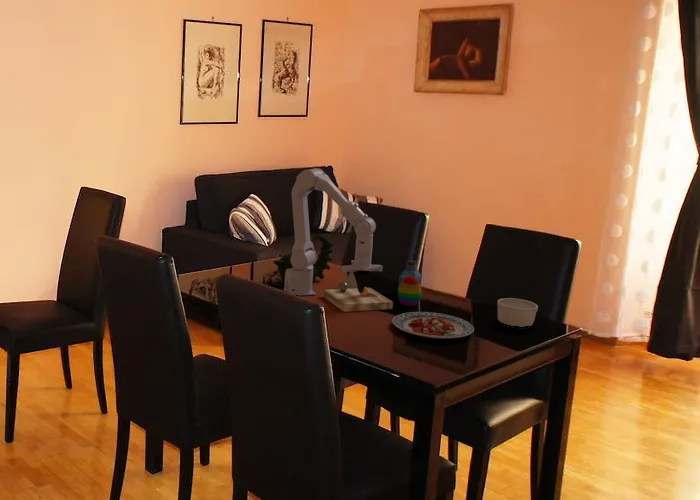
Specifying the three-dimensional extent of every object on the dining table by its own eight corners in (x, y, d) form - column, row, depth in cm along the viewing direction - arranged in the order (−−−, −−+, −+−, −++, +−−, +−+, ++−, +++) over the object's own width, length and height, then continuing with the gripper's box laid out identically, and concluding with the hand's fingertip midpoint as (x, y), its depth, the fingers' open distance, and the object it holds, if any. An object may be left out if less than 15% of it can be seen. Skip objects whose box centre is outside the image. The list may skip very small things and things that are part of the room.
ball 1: (340, 292, 280) (341, 283, 279) (337, 290, 282) (337, 281, 282) (349, 292, 281) (349, 283, 280) (345, 290, 284) (346, 281, 283)
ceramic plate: (379, 319, 262) (380, 310, 261) (449, 316, 271) (450, 308, 270) (412, 346, 238) (413, 336, 237) (488, 342, 247) (489, 332, 247)
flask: (363, 290, 294) (365, 264, 292) (343, 289, 294) (345, 262, 292) (363, 285, 301) (365, 259, 299) (344, 284, 301) (345, 258, 299)
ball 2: (371, 291, 277) (365, 298, 277) (367, 289, 280) (361, 296, 280) (365, 285, 276) (359, 292, 276) (361, 284, 279) (355, 291, 278)
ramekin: (536, 321, 273) (539, 301, 272) (534, 332, 261) (537, 311, 259) (497, 315, 276) (499, 295, 275) (493, 325, 264) (495, 305, 262)
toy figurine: (318, 280, 311) (263, 280, 295) (325, 232, 308) (270, 230, 292) (332, 286, 303) (277, 287, 288) (339, 237, 300) (284, 235, 285)
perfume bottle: (397, 293, 295) (400, 261, 292) (404, 289, 300) (407, 258, 298) (413, 296, 292) (416, 264, 290) (420, 292, 298) (423, 261, 295)
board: (343, 311, 266) (344, 304, 266) (323, 296, 282) (323, 289, 282) (392, 309, 274) (392, 301, 273) (369, 294, 290) (370, 287, 289)
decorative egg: (425, 305, 281) (427, 277, 279) (408, 308, 276) (410, 280, 274) (409, 299, 287) (411, 272, 285) (392, 302, 282) (394, 274, 280)
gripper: (348, 256, 268) (345, 295, 271) (387, 255, 274) (384, 294, 277) (340, 251, 274) (337, 290, 277) (378, 251, 280) (375, 288, 283)
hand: (360, 291), depth 277 cm, fingers closed, pressing on ball 2
